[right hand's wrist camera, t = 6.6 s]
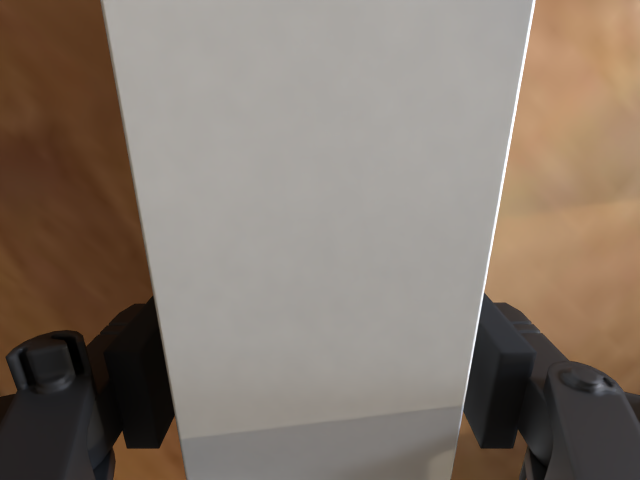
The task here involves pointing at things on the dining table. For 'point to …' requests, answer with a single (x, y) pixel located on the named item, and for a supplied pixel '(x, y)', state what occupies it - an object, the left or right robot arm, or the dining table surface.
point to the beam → (318, 220)
